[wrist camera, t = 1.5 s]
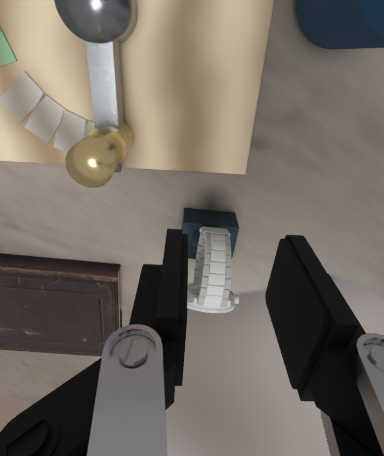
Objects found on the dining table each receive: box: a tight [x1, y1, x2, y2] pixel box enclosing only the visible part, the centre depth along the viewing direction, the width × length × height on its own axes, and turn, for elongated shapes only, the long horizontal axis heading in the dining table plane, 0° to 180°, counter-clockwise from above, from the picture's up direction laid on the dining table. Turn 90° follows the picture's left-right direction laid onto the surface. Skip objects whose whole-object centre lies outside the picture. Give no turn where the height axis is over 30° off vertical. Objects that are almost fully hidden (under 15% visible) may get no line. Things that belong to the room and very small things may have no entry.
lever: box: [54, 0, 138, 188], centre depth 20 cm, size 14×4×8 cm, turn 177°
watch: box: [182, 208, 239, 313], centre depth 27 cm, size 6×8×11 cm
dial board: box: [0, 0, 274, 174], centre depth 21 cm, size 24×24×1 cm
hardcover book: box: [0, 254, 122, 357], centre depth 38 cm, size 16×23×2 cm
